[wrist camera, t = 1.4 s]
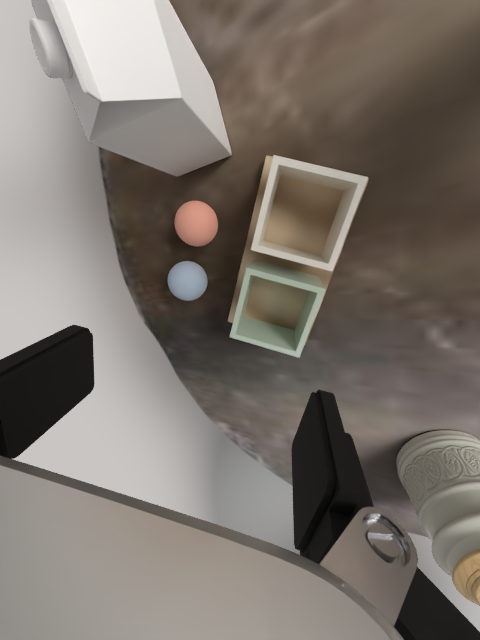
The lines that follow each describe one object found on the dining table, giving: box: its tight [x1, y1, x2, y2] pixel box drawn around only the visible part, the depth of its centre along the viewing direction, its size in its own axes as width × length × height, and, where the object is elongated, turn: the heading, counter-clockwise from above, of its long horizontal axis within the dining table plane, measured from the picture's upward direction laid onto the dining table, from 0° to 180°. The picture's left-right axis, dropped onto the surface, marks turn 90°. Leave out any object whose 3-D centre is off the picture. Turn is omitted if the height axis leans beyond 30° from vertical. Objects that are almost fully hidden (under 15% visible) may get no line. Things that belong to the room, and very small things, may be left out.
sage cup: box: [230, 259, 325, 357], centre depth 30 cm, size 8×8×6 cm
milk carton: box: [30, 0, 232, 177], centre depth 20 cm, size 7×7×19 cm
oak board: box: [228, 155, 368, 344], centre depth 31 cm, size 20×11×1 cm, turn 166°
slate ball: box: [168, 261, 208, 301], centre depth 33 cm, size 5×5×5 cm
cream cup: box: [251, 155, 368, 271], centre depth 26 cm, size 8×8×6 cm
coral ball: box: [175, 201, 218, 246], centre depth 30 cm, size 5×5×5 cm
